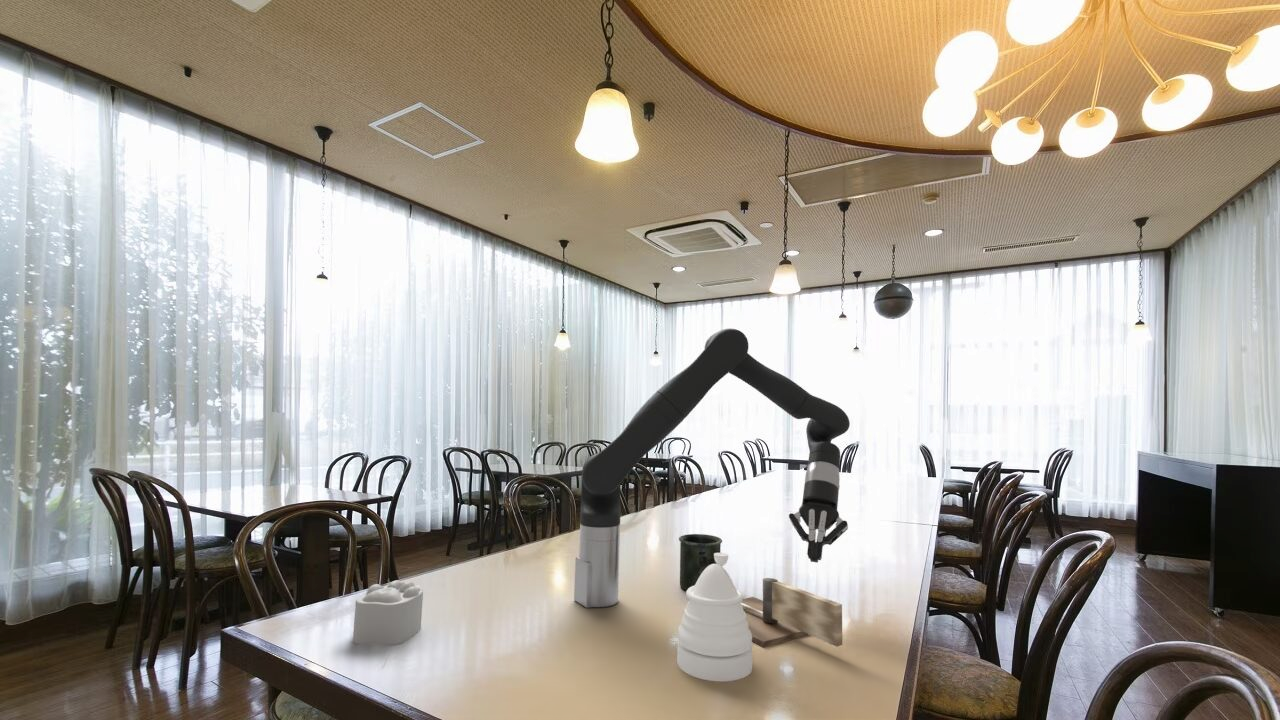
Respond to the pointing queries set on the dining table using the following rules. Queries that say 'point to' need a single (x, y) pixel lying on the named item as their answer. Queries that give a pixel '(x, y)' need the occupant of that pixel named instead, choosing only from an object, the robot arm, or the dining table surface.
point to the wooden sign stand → (767, 626)
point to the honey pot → (715, 628)
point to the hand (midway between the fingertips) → (814, 560)
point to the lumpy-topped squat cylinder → (388, 614)
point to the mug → (696, 556)
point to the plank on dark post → (801, 611)
